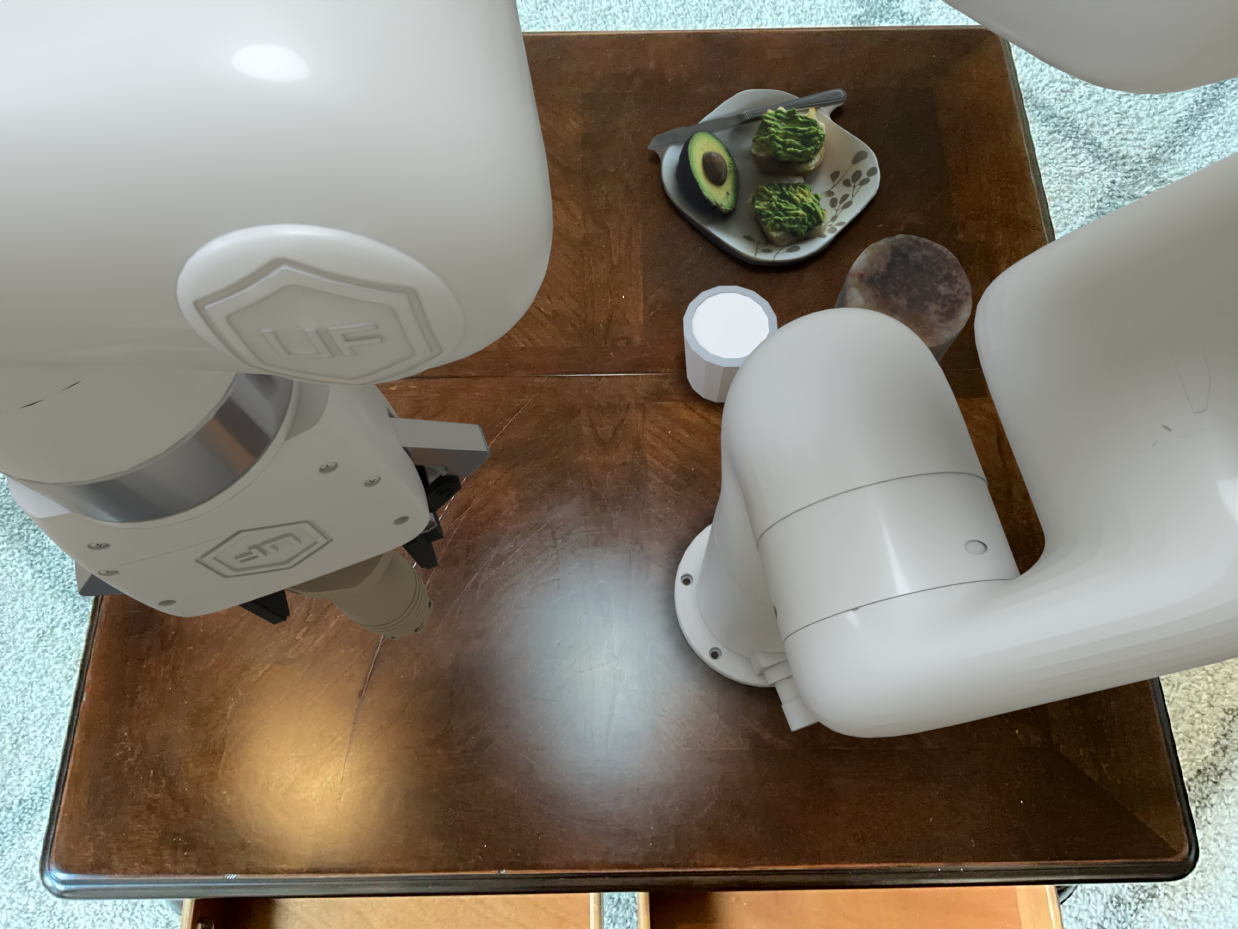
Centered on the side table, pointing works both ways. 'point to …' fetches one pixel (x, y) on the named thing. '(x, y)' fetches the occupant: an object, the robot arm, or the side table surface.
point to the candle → (912, 288)
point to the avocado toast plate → (768, 175)
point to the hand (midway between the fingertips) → (349, 563)
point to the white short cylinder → (723, 336)
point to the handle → (376, 595)
